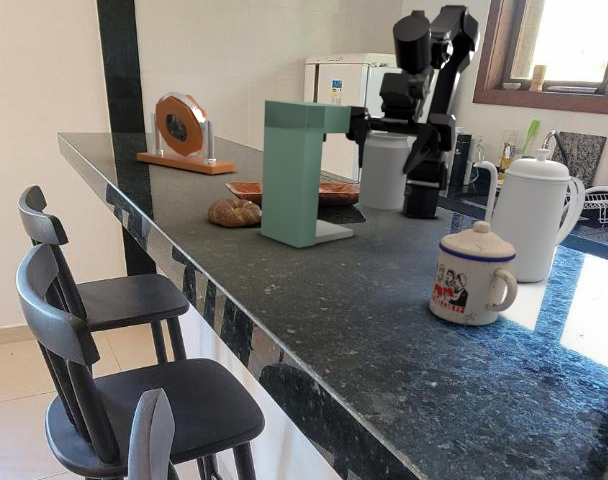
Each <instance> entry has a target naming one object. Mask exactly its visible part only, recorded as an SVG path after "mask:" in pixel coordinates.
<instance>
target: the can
mask: <svg viewBox="0 0 608 480" xmlns="http://www.w3.org/2000/svg"><path fill="white" fill-rule="evenodd" d="M369 135H370V138H369V139H368V140H367V141H366V142H365V143H364V153H363V162H362V168H361V170H360V171H361V172H360V180H359V181H360V182H359V191H358V201H357V203H358V205H360V207H361V209H362V210H363V211H366V212H371V213H375V214H394V213H396V212H398V210H399V209H401V208H403V205H404V198H405V191H406V186H405V183H406V176H407V174H404V167H405V164H406V161H407V159H408V156H409V154H410V152H411V148H412V146H411V145H410V143H409V142H408V139H409V136H406V135H401V134H393V133H388V132H372V133H370V134H369Z"/></svg>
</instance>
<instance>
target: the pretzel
mask: <svg viewBox="0 0 608 480" xmlns="http://www.w3.org/2000/svg"><path fill="white" fill-rule="evenodd" d="M207 217H208V219H209V221H210V222H212V223H214V224H218V225H221V226H222V227H228V228H238V227H239V228H240V227H243V226H247V227H248V226H249V227H250V226H254V225H255V224H259V223H261V217H262V208H260V206H259V205H258V204H256V203H253V202H252V201H250V200H247V199H243V198H241V199H237V200H235V199H234V198H225V197H224V198H220V199H217V200H216V201H214V202H213V203H212V204H211V205H209V206H208V209H207Z"/></svg>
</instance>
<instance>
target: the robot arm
mask: <svg viewBox="0 0 608 480" xmlns="http://www.w3.org/2000/svg"><path fill="white" fill-rule="evenodd" d="M425 11H426V10H423V9H422V10H421V9H412V10H411V12H410V14H409V15H406V16H404V17H402V18H400V19H399V20H398V21H397V22H396V23H394V25H393V26H392V37H393V47H394V54H395V62H396V63H395V64H396V68H397V69H400V70H401V71H400V72H390V71H389V72H384V74H383V76H382V81H381V85H380V88H379V93H378V95H379V97H380V98H381V100H382V103H381V105H380V112H381V113H384V115H383V116H377V115H371V114H370V111H369V107H368V106H359V105H348V106H349V107H351V114H350V124H349V133H344V135H345V139H347V140H348V141H351V142H355V144H356V145H358V151H357V152H358V153H357V155H358V159H357V165H358V169H362V162H363V153H364V143H365V142H366V141H367V140H368V139H369V138H370V135H369V134H370V133H373V131H374V132H382V133H393V134H401V135H406V136H408V137H411V138H412V137H413V138H416V139H415V140H414V141H413V142H412V144H411V149H410V154H409V156H408V159H407V161H406V164H405V167H404V174H407V176H406V183H405V187H408V188H407V191H406V192H404V197H403V204H402V209H401V212H402V213H404V214H405V215H406V216H408V217H409V218H411V219H412V218H413V219H414V218H415V219H416V218H417V219H439V215H437V208H438V202H439V198H440V192H441V191H447V189H448V183H449V167H448V161H447V154H446V153H450V152H451V151H453V147H454V144H455V142H456V118H455V116H454V115H453V114H451V112H452V107H453V103H454V99H455V96H456V91H457V88H458V83H459V80H460V76H461V74H462V73H463V72H464V71H465V70H466V69H467V68H468V67H469V66H470V65H471V63H472V60H473V57H474V53H476V52H477V51H478V48H479V43H480V37H481V33H480V23H479V21H478V20H477V19H476V18H474V17H473V16H472V15H471V14H470V9H469V6H466V5H464V4H444V5H442V6H441V7H440V11H439V13H438V15H437V16H435V18H434V19H433V20H432V21H430V20H429V18H428V17H427V16H426V12H425ZM435 70H437V71H438V72H437V76H436V73H435V72H436V71H435ZM435 76H436V81H435ZM434 81H435V84H434V89H433V92H432V97H431V99H430V100H431V101H430V104H429V109H428V112H427V117H426V120H425V122H419V120H420V118H422V117H423V115H424V107H425V104H426V101H427V98H428V96H429V95H430V94H431V89H432V86H433V82H434Z"/></svg>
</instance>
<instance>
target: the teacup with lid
mask: <svg viewBox="0 0 608 480" xmlns="http://www.w3.org/2000/svg"><path fill="white" fill-rule="evenodd" d="M490 228H491V225H490V224H489V223H487V222H484V221H482V220H481V221H479V220H478V221H475V222H474V223H473V224H472V228H468V229H464V230H462V231H459V232H458V233H451V234H447V235H445V236H443V237H442V238H441V240H440V241H439V242H438V248H439V253H438V259H437V264H436V269H435V274H434V275H435V276H434V279H433V284H432V290H431V295H430V300H429V309H430V311H431V312H432V313H433V314H434V315H435V316H437V317H438V318H440V319H442V320H444V321H447V322H451V323H454V324H458V325H465V326H486V325H489V324H492V323H494V322H495V321H497V319H498V318H499V314H500V313H501V312H505V311H506V310H508V309H509V308H510V307H511V306H512V305H513V304H514V302H515V301H516V298H517V295H518V291H519V287H518V282H517V281H516V279H515V278H514V276H513V275H512V274H511V273H509V271H510V267H511V264H512V260H513V259H514V258H515V256H516V253H515V252H516V251H515V248H514V247H513V246H512V245H511V244H510V243H508V242H506V241H503V240H502V239H501V238H500V237H499V236H498V235H496V234H495V233H493V232H491V231H490ZM506 288H507V289H506ZM505 290H506V294H505ZM504 294H505V297H504ZM503 298H504V299H503Z"/></svg>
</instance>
